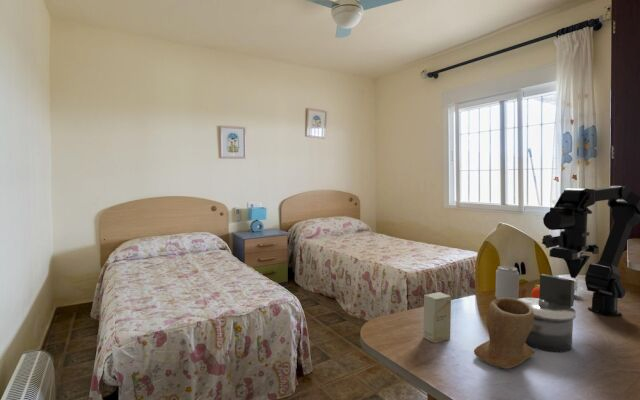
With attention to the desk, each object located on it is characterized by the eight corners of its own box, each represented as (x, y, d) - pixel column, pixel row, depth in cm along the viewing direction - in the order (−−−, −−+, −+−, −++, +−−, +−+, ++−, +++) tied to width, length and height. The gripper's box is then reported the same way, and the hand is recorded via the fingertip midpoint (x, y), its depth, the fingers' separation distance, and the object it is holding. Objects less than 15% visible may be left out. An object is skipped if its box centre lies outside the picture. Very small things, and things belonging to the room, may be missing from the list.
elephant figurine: (559, 297, 131) (560, 278, 130) (550, 289, 140) (551, 271, 140) (583, 299, 129) (584, 280, 128) (573, 291, 138) (573, 273, 137)
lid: (531, 298, 105) (532, 271, 104) (586, 313, 93) (587, 283, 92) (503, 307, 97) (504, 278, 97) (559, 325, 86) (560, 292, 85)
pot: (508, 318, 111) (508, 294, 110) (581, 344, 93) (582, 314, 93) (482, 328, 104) (483, 301, 103) (556, 357, 87) (557, 325, 86)
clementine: (523, 303, 124) (524, 283, 124) (534, 299, 128) (535, 280, 127) (547, 310, 117) (548, 289, 117) (558, 306, 121) (559, 286, 121)
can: (522, 303, 124) (523, 270, 123) (501, 303, 124) (502, 270, 124) (511, 296, 132) (512, 264, 131) (491, 296, 132) (492, 264, 131)
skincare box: (434, 343, 94) (435, 299, 93) (422, 337, 98) (423, 294, 97) (451, 338, 97) (452, 295, 96) (438, 332, 101) (439, 291, 100)
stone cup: (515, 380, 77) (517, 313, 76) (466, 357, 87) (468, 298, 86) (549, 361, 85) (551, 300, 84) (501, 342, 95) (503, 287, 94)
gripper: (561, 223, 121) (559, 268, 122) (532, 227, 111) (530, 276, 112) (600, 227, 111) (598, 275, 112) (572, 232, 102) (570, 285, 103)
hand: (573, 277), depth 110 cm, fingers closed
